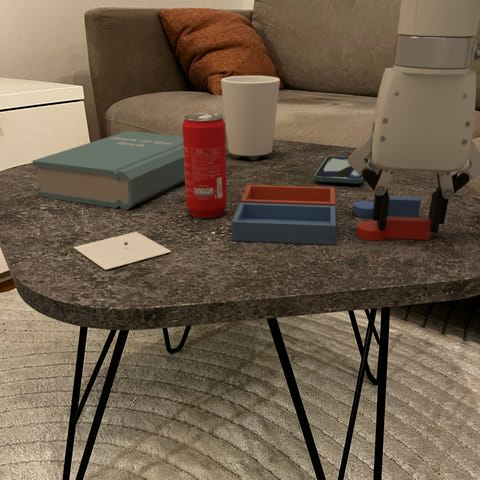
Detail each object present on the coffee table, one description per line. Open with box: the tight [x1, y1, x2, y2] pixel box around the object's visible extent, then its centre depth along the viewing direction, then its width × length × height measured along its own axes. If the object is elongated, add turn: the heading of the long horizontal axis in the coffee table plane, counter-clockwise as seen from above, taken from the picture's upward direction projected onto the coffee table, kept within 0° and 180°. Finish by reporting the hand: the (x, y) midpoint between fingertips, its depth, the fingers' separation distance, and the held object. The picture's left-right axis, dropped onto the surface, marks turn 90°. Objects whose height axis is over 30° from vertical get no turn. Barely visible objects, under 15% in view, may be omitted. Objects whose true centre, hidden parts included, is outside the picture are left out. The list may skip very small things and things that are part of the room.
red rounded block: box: [355, 216, 431, 242], centre depth 68 cm, size 8×3×2 cm, turn 83°
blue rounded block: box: [352, 195, 422, 219], centre depth 75 cm, size 8×3×2 cm, turn 83°
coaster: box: [72, 231, 173, 271], centre depth 65 cm, size 8×8×1 cm
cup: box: [220, 75, 281, 162], centre depth 101 cm, size 10×10×13 cm
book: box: [31, 130, 185, 211], centre depth 88 cm, size 23×16×5 cm
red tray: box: [240, 184, 336, 207], centre depth 77 cm, size 12×7×2 cm, turn 83°
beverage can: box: [181, 112, 228, 219], centre depth 74 cm, size 5×5×12 cm
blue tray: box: [231, 202, 337, 246], centre depth 70 cm, size 12×7×2 cm, turn 83°
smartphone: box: [313, 155, 371, 185], centre depth 94 cm, size 7×1×15 cm
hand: (406, 226), depth 68 cm, fingers closed on red rounded block, 5 cm apart
